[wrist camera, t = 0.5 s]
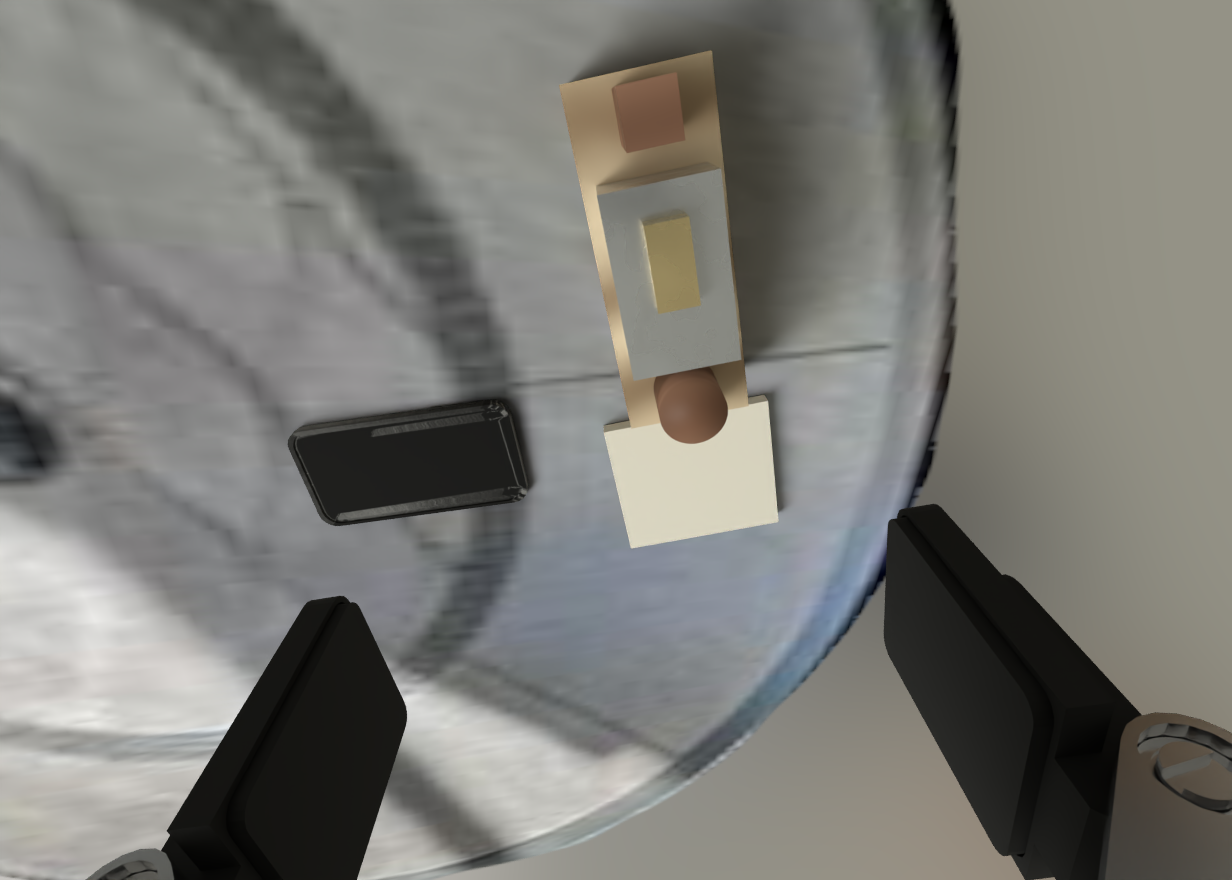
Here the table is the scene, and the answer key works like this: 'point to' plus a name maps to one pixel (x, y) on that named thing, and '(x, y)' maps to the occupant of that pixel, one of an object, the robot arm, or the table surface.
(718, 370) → the body
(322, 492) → the phone
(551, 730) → the table surface
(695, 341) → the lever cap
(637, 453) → the felt mat
